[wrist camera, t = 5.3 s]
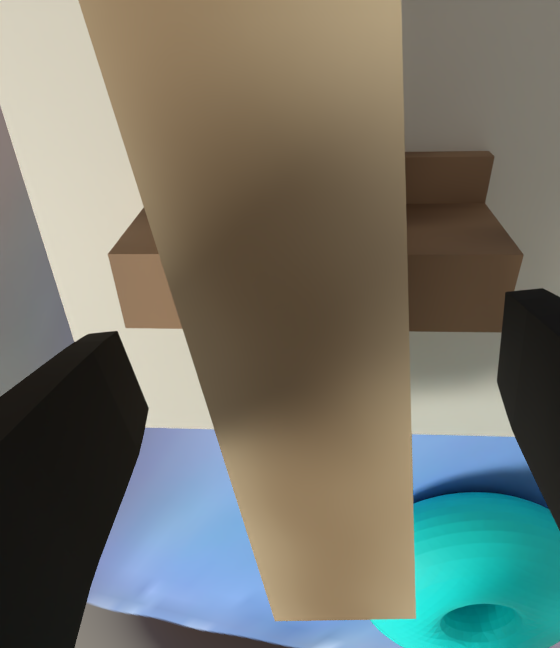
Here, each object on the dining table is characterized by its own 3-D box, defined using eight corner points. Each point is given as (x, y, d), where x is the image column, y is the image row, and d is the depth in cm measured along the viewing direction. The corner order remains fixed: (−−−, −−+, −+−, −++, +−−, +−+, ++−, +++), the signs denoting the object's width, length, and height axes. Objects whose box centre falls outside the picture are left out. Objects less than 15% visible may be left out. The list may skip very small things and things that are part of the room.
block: (488, 150, 13) (538, 199, 10) (460, 298, 15) (492, 372, 13) (143, 155, 14) (95, 201, 11) (167, 296, 16) (134, 366, 13)
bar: (359, -281, 7) (390, -483, 4) (397, 498, 15) (416, 618, 12) (108, -217, 7) (-34, -353, 4) (282, 504, 16) (274, 621, 13)
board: (778, -40, 11) (800, -41, 10) (582, 426, 19) (589, 438, 18) (-22, -12, 12) (-37, -12, 12) (106, 415, 20) (101, 426, 19)
